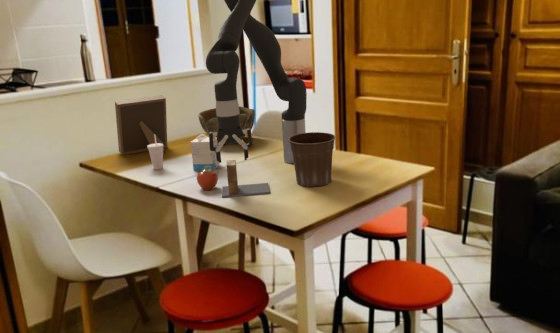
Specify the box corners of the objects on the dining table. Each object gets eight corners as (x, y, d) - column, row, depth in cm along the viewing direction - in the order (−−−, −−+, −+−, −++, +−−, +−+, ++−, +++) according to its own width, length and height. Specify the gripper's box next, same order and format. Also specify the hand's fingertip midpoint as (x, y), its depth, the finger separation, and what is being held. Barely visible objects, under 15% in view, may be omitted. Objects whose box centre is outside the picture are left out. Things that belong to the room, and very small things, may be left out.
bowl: (234, 150, 232) (231, 117, 228) (189, 145, 247) (186, 114, 243) (268, 137, 254) (266, 107, 250) (225, 133, 269) (223, 104, 265)
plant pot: (323, 192, 172) (321, 144, 167) (282, 186, 180) (279, 141, 176) (344, 178, 185) (343, 133, 181) (305, 173, 194) (303, 130, 189)
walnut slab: (238, 187, 180) (235, 159, 177) (238, 194, 173) (235, 165, 170) (229, 188, 180) (226, 160, 177) (229, 194, 173) (226, 165, 170)
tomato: (215, 191, 179) (213, 169, 176) (194, 191, 180) (192, 169, 178) (221, 185, 186) (219, 163, 183) (201, 185, 187) (199, 163, 185)
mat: (268, 184, 183) (268, 182, 183) (270, 193, 174) (269, 191, 173) (222, 188, 182) (222, 186, 182) (222, 197, 172) (221, 195, 172)
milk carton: (213, 170, 204) (209, 137, 200) (193, 170, 206) (189, 137, 202) (219, 164, 212) (216, 132, 208) (200, 164, 214) (197, 132, 210)
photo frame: (119, 153, 240) (111, 99, 233) (164, 145, 251) (158, 93, 244) (128, 160, 228) (120, 103, 221) (175, 151, 239) (169, 97, 231)
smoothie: (169, 166, 214) (165, 133, 210) (159, 170, 208) (155, 136, 204) (156, 165, 216) (152, 132, 213) (146, 169, 211) (142, 136, 207)
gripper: (249, 109, 173) (253, 156, 178) (206, 113, 172) (211, 160, 177) (250, 113, 166) (254, 162, 171) (205, 117, 165) (211, 166, 170)
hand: (232, 161), depth 174 cm, fingers open, 8 cm apart
